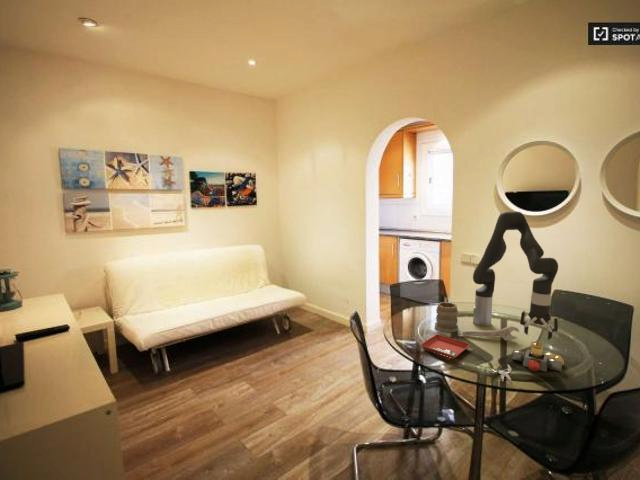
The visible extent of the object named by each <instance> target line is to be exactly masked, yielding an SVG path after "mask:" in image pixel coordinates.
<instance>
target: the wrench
mask: <svg viewBox="0 0 640 480" xmlns="http://www.w3.org/2000/svg"><path fill="white" fill-rule="evenodd" d="M513 331H514V332H517V333H520V330H519V328H518V327H517V326H514V325H508V326H506V327H504V328H500V329H497V330H495V329H494V330H492V329H491V330H488V329H487V330H481V329H480V330H478V329H477V330H475V329H474V330H473V329H471V330H470V329H468V330H466V329H465V330H464V329H463V330H462V329H461V330H460V329H458V331H457V335H458V337H498V338H501V339H503V341H506V342H508V341H510V340H511V341H514V340H516V339H517V338H518V337H517V336H516V335H514V334H511V333H512V332H513ZM460 333H462V334H460Z"/></svg>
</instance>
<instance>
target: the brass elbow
mask: <svg viewBox="0 0 640 480" xmlns="http://www.w3.org/2000/svg"><path fill="white" fill-rule="evenodd" d="M543 354H547V355H548V358H550V359H554V360H558V361H562V367H563V366H564V365H565V361H564V359H563V358H562V356H561V355H559V354H556V353H549V352H547V353H546V352H544V353H543Z"/></svg>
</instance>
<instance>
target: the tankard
mask: <svg viewBox="0 0 640 480" xmlns="http://www.w3.org/2000/svg"><path fill="white" fill-rule="evenodd" d="M443 301H444V302H443ZM443 301H441V302H439V303H437V306H436V310H435V311H436V317H435V319H436V322H434V329H436V330H437V331H440V332H442V333H452V334H453V333H455V332H458V331H459V325H458V321H459V320H458V315H459V311H458V306H457V304H455V303H453V302H448V296H444V300H443Z"/></svg>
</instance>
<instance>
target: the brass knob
mask: <svg viewBox="0 0 640 480" xmlns="http://www.w3.org/2000/svg"><path fill="white" fill-rule="evenodd" d="M543 350H544V344H543V343H542V342H540V341H531V342H530V351H531V357H533V358H537V359H541V360H542V353H543Z"/></svg>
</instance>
